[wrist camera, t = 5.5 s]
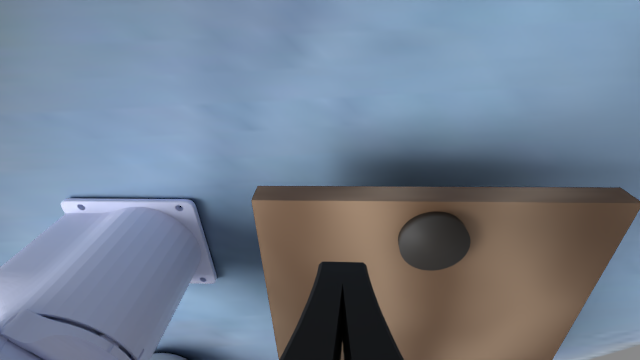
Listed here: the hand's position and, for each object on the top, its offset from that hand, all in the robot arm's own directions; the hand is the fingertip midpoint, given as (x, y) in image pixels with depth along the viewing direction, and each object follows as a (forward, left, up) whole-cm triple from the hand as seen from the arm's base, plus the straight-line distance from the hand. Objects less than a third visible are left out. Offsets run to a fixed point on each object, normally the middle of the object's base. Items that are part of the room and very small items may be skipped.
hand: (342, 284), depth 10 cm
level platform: (+4, -10, -5) cm, 12 cm away
